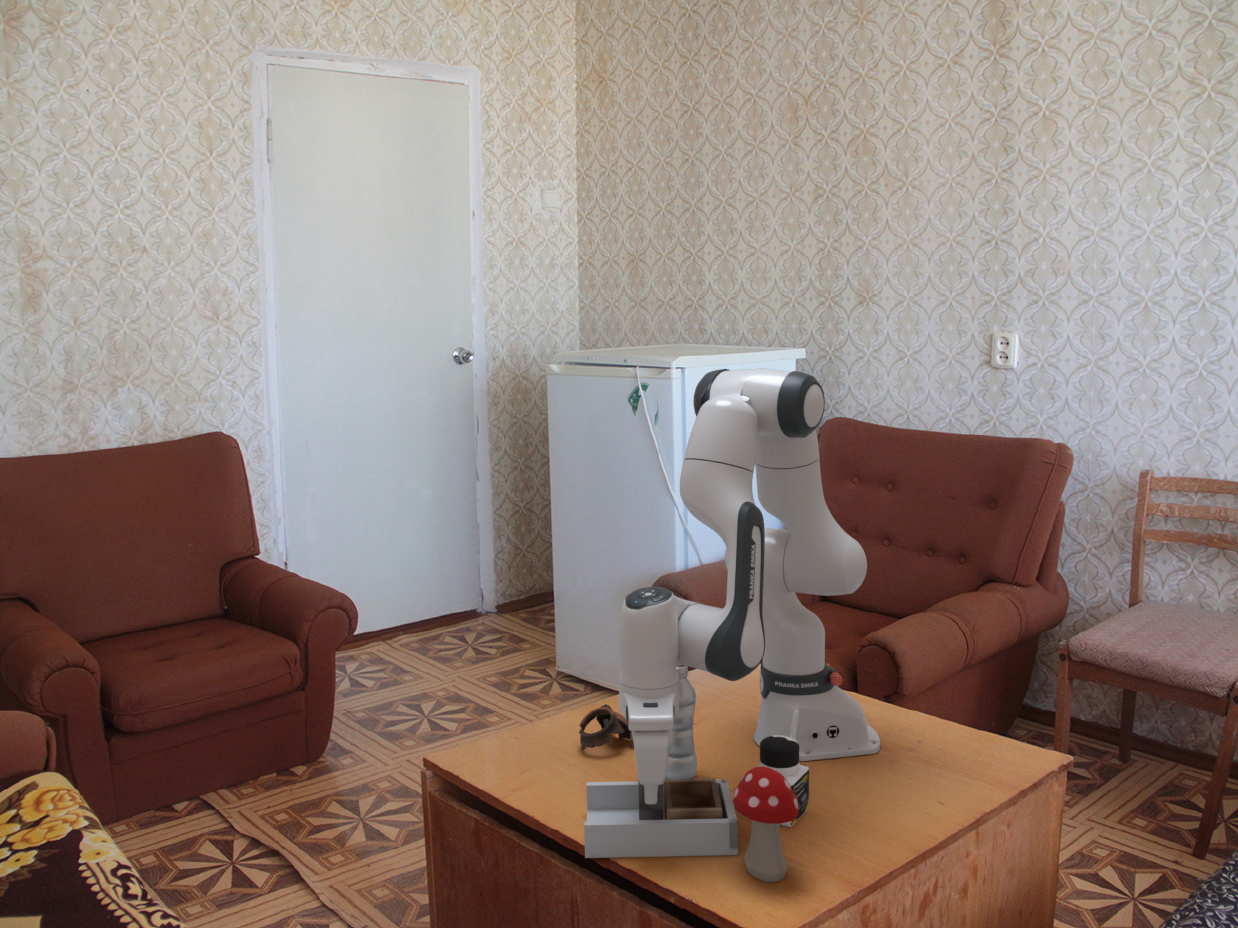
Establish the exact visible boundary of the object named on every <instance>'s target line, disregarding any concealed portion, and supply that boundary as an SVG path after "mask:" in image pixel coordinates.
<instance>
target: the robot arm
mask: <svg viewBox="0 0 1238 928" xmlns="http://www.w3.org/2000/svg"><path fill="white" fill-rule="evenodd" d="M693 393H694V394H693V401H692V402H693V411H694V414H695V416H696V417H695V421H694V422H693V426H692V429H691V431H690V433H689V437H688V441H687V445H686V447H685V448H686V449H685V452H684V457H683V462H682V467H681V472H680V478H679V495H680V498H681V501H682V503H683V504H684V506H685V508H686V509H687V510H688V512H689V513H690V514H691V516H693V517H694V518H695V519H696V520H697V521H699V522H700V523H702V524H703V525H704V526H706V527H708V528H709V529H711V530H712V531H714V533H716V534H717V535H718V537H720V538H721V540H722V542H723V543H724V545H725V551H724V563H725V567H726V571H727V575H726V576H727V577H726V578H727V579H726V580H727V581H726V583H727V584H726V598H725V599H726V602H725V605H724V607H722V608H721V607H719V606H718V607H717V606H712V605H707V604H703V603H702V602H697V601H691V600H688V599H683V598H681V597H678V596H676V595H675V594H674V593H673V591H672V590H670V589H668V588H666V587H661V586H650V587H649V586H647V587H641V588H638V589H636V590H635V589H634V590H633V591H632V592H630V593H629V594H627V595H626V596H625V598H624V599H623V602H622V605H621V609H620V615H619V622H618V623H619V625H618V653H619V656H620V660H621V661H620V662H621V667H620V672H619V675H618V696H619V697H618V701H619V703H618V708H619V712H620V714H621V715H622V716H623V717H624V718H625V719H626V721H627V724H628V727H629V730H630V731H631V732H632V736H633V742H634V748H633V749H634V757H635V764H636V773H637V777H638V778H637V780H638V779H639V782H640V784H642V785H644V794H645V803H646V804H656V803H657V790H658V785H661V784H663V783H664V781H665V780H666V779H665V777H666V770H667V760H668V749H669V737H670V730H673V729H674V718H675V716H676V713H677V712H678V710H679V676H678V672H677V667H678V666H679V665H682V664H683V665H685V666H688V667H689V668H692V669H693V668H694V669H696V670H700V671H704V672H707V673H710V674H711V675H714V676H717V677H719V678H722V679H724V680H727V681H730V682H736V681H739V680H741V679H743V678H745V677H747V676H748V675H750V674H752V672H754V671H755V670H756V669H757V668H758V667H759V665H760V671H759V692H760V695H761V699H760V700H761V701H760V709H759V714H758V720H757V725H756V728H755V732H754V734H753V740H754V742H755V743H756V744H757V745H758V746H759V747H760V742H761V741H762V740H763V739H764V738H766V737H769V736H774V735H782V736H787V737H790V738H793V739H795V740H796V741H797V742H798V743H799V762H808V761H816V760H826V759H834V758H844V757H845V758H846V757H853V756H863V755H865V756H866V755H872V754H877V753H878V752H879V751H880V749H881V741H880V740H881V739H880V736H879V735H878V732H877V731H876V730H875V729H874V728H873V727H872V726H871V725H870V724H868V722H867V721H868V720H867V716H866V714H865V711H864V709H863V708H862V706H861V704H860V703H859V702H858V701H857V700H856V699H855V698H854V697H853V696H851V695H850V694H849V693H847V692H846V691H844V690H843V689H841V688H840V687H839V686H841V685H842V684H843V681H844V680H843V677H842V676H841V674H840V673H839V672H837V671H836V670H835V668H833V667H832V666H831V665H830V664H829V663H828V662H827V663H825V660H826V659H825V658H826V657H825V654H826V652H825V651H826V650H825V649H826V648H825V647H826V641H825V640H826V632H825V631H826V629H825V627H824V624H823V622H822V620H821V619H820V617H819V616H817V615H816V613H815V612H813V611H810V610H809V609H808V608H806V607H805V606H804V605H803V604H802V603H801V601H800V600H799V599H798V596H797V594H796V593H798V594H799V593H800V594H807V595H808V594H809V595H817V596H827V597H830V596H842V595H851V594H853V593H855V592H856V591H857V590H858V589H859V588H860V587H861V585H862V584H863V582H864V580H865V578H866V576H867V575H866V574H867V570H868V561H867V556H866V553H865V551H864V549H863V547H862V545H861V544H860V543H859V541H857V540H856V539H855V538H853V537H852V536H851V535H850V534H848V533H847V532H846V531H845V530H844V529H843V528H842V527H841V525H839V523H838V522H837V521H836V519H835V518H834V516H833V515H832V513H831V511H830V509H829V507H828V505H827V502H826V500H825V494H824V491H823V484H822V483H823V482H822V476H821V464H820V449H819V441H818V434H817V428H818V427H819V426H820V424H821V422H822V419H823V417H824V413H825V407H826V406H825V405H826V404H825V403H826V401H825V399H826V398H825V392H824V389H823V386H821V383H819V381H818V379H817V378H816V377H815V376H813V375H811V374H809V373H806V372H802V371H798V370H794V371H788V370H782V369H774V368H762V367H760V368H759V367H758V368H745V369H743V368H740V369H729V368H721V369H715V370H711V371H709V372H706V373H704V376H703V377H702V378H701V379H700V380H699V382H698V383H697V384H696V387H695V390H694V392H693ZM754 471H755V472H754ZM754 473H755V479H756V491H757V498H758V502H759V503H760V505H761V507H762V508H763V510H764V511H766V512H767V513H768V514H769V515H771V516H772V517H775V518H776V519H777V520H779V522H780V523H782V524H783V525H784V526H785V528H786V529H784V528H783V529H782V528H781V529H780V528H771V527H765V521H764V515H763V513H762V510H761V509H760V508H759V507H758V506H757V505H756V503H755V500H754V494H753V479H754V477H753V476H754Z"/></svg>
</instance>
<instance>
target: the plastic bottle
mask: <svg viewBox="0 0 1238 928" xmlns="http://www.w3.org/2000/svg"><path fill="white" fill-rule="evenodd" d="M688 667H689V666H685V665H683V664H682V665H679V666H678V667H677V672H678V676H679V710H678V712H677V713H676V716H675V718H674V729H673V730H670V737H669V749H668V760H667V770H666V777H665V780H677V779H694V778H695V776H696V774H697V771H698V770H697V769H698V759H697V754H696V750H695V741H694V739H695V738H694V718H695V709H696V703H697V702H696V700H697V693H696V691H695V687H694V686H693V684H692V683H691V681H690V680H689V679H688V676H689V671H688V670H689V668H688Z"/></svg>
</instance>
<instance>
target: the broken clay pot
mask: <svg viewBox="0 0 1238 928" xmlns="http://www.w3.org/2000/svg"><path fill="white" fill-rule="evenodd" d="M594 719H596V721H597V722H598V724H599V726H600V727H601V729H600V730H598V731H596V732H592V733H590V732H589V733H587V732H585V730H586V727H587V726H588V725H589V724H590V723H591V721H593V720H594ZM579 727H580V729H579V734H580V735H579V736H580V737H579V740H580V741H579V742H580V745H581V748H582V749H583V750H584V749H586V748H590V749H594V748H595V747H601V746H603V745H605V744H606V745H607V744H608V745H613V742H612V734H615V735H617V734H618V735H617V736H618V739H620V740H623V739H627V740H629V742H630V743H631V747H632V749H634V742H633V736H632V732H631V731H630V730H629V727H628V724H627V721H626V719H625V717H624V715H623V714H622V713H619V712H617V711H614V710H613V709H612V707H611V706H610V704H603V705H601V706H600V707H598V708H597V707H596V708H595V709H593V710H591V711H590V712H588V713H587V714H586V715H585V716H584V717H583V718H582V720H581V721H580V722H579Z"/></svg>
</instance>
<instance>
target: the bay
mask: <svg viewBox="0 0 1238 928" xmlns="http://www.w3.org/2000/svg"><path fill="white" fill-rule="evenodd" d="M715 780H716V784H717V789H718V793H719V798H720V802H721V806H722V819H679V820H665V813H664V783H663V820H639V793H638V780H636V781H633V780H632V781H587V782H586V821H584V826H583V827H584V828H583V829H584V832H583V833H584V834H583V835H584V858H585V859H604V858H605V859H607V858H609V859H611V858H650V857H651V858H655V857H656V858H657V857H659V858H661V857H701V856H703V857H706V856H707V857H708V856H710V857H711V856H712V857H714V856H739V855H738V854H739V852H738V851H739V848H738V845H739V844H738V842H739V841H738V840H739V839H738V835H739V834H738V833H739V831H738V830H739V829H738V826H739V825H738V824H739V823H738V819H737V815H736V811H735V810H736V809H735V807H734V804H733V797H732V794H731V791H730V787H729V782H728V780H727V779H715Z"/></svg>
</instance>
